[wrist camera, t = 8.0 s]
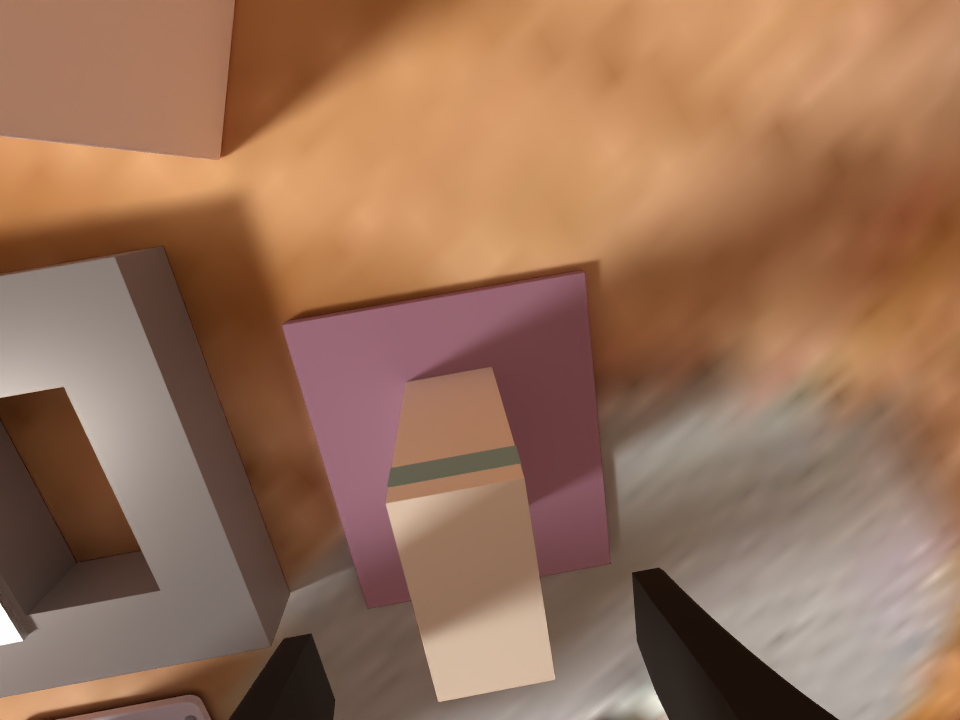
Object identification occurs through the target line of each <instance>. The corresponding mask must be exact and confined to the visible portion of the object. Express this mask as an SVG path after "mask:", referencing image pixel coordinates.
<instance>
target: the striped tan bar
mask: <svg viewBox="0 0 960 720" xmlns="http://www.w3.org/2000/svg"><path fill="white" fill-rule="evenodd" d="M387 489H388V492H387V498H386V507H387V511H388V515H389V519H390V522H391V526H392V530H393V534H394V537H395V541H396V545H397V549H398V552H399V556H400V560H401V564H402V567H403V571H404V575H405V579H406V582H407V586H408V590H409V594H410V598H411V601H412V605H413V609H414V613H415V616H416V620H417V624H418V628H419V631H420V635H421V639H422V643H423V646H424V650H425V654H426V658H427V661H428V665H429V669H430V673H431V676H432V680H433V684H434V688H435V691H436V695H437V699H438V702H442V701H447V700H452V699H458V698H463V697H468V696H473V695H478V694H484V693H489V692H494V691H499V690H504V689H510V688H515V687H520V686H525V685H530V684H536V683H541V682H546V681H551V680H555V675H554V668H553V662H552V655H551V649H550V642H549V635H548V629H547V622H546V616H545V609H544V603H543V596H542V590H541V583H540V576H539V570H538V563H537V557H536V550H535V544H534V537H533V531H532V524H531V517H530V511H529V504H528V498H527V491H526V485H525V478H524V475H523V471H522V466H521V461H520V458H519V454H518V451H517V447H516V445H515V444H514V441H513V437H512V434H511V430H510V427H509V424H508V420H507V417H506V413H505V410H504V406H503V403H502V400H501V396H500V393H499V389H498V386H497V383H496V379H495V376H494V372H493V369H492V367H487V368H482V369H476V370H471V371H465V372H460V373H454V374H448V375H443V376H437V377H432V378H426V379H420V380H415V381H409V382H406V383H405V389H404V395H403V401H402V407H401V413H400V419H399V425H398V431H397V437H396V443H395V449H394V455H393V461H392V467H391V468H390V473H389V479H388V485H387Z"/></svg>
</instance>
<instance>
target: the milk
mask: <svg viewBox="0 0 960 720" xmlns="http://www.w3.org/2000/svg"><path fill="white" fill-rule="evenodd" d="M234 7H235V0H0V136H2V137H11V138H20V139H29V140H38V141H47V142H56V143H65V144H74V145H83V146H92V147H101V148H110V149H119V150H128V151H137V152H146V153H155V154H164V155H174V156H183V157H192V158H201V159H210V160H219V159H220V154H221V144H222V134H223V123H224V112H225V102H226V91H227V81H228V70H229V60H230V49H231V39H232V28H233V18H234Z"/></svg>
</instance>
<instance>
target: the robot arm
mask: <svg viewBox="0 0 960 720" xmlns="http://www.w3.org/2000/svg"><path fill="white" fill-rule="evenodd" d="M632 579H633V592H634V606H635V620H636V634H637V643H638V645H639V648H640V651H641V654H642V656H643V659H644V662H645V665H646V667H647V670H648V673H649V675H650V678H651V681H652V683H653V686H654V689H655V691H656V693H657V695H658V697H659V700H660V702H661V704H662V706H663V708H664V710H665V712H666V714H667V716H668V718H669V720H839V719H837V718H836V717H834V716H833V715H832V714H830V713H829V712H827V711H826V710H825V709H823V708H822V707H820V706H819V705H818V704H816V703H815V702H814V701H812V700H811V699H810V698H808V697H807V696H806V695H804V694H803V693H802V692H800V691H799V690H798V689H796V688H795V687H794V686H792V685H791V684H790V683H789V682H787V681H786V680H785V679H783V678H782V677H781V676H780V675H778V674H777V673H776V672H775V671H774V670H772V669H771V668H770V667H769V666H767V665H766V664H765V663H764V662H762V661H761V660H760V659H759V658H758V657H756V656H755V655H754V654H753V653H752V652H750V651H749V650H748V649H747V648H746V647H745V646H743V645H742V644H741V643H740V642H739V641H738V640H737V639H735V638H734V637H733V636H732V635H731V634H730V633H729V632H727V631H726V630H725V629H724V628H723V627H722V626H721V625H719V624H718V623H717V622H716V621H715V620H714V619H713V618H712V617H711V616H710V615H708V614H707V613H706V612H705V611H704V610H703V609H702V608H701V607H700V606H699V605H698V604H697V603H696V602H695V601H694V600H693V599H692V598H691V597H689V596H688V595H687V594H686V593H685V592H684V591H683V590H682V589H681V588H680V587H679V586H678V585H677V584H676V583H675V582H674V581H673V580H672V579H671V578H670V577H669V576H668V575H667V574H666V573H665V572H664V571H663V570H662V569H660V568H654V569H649V570H643V571H638V572H633V573H632ZM334 706H335V698H334V695H333V693H332V690H331V687H330V684H329V681H328V679H327V676H326V673H325V670H324V668H323V665H322V662H321V659H320V656H319V654H318V651H317V648H316V645H315V642H314V640H313V637H312V634H306V635H301V636H296V637H291V638H285V639H283V641H282V642H281V643H280V645H279V646H278V648H277V649H276V651H275V652H274V654H273V655H272V656H271V658H270V659H269V661H268V662H267V664H266V665H265V667H264V668H263V670H262V671H261V673H260V674H259V676H258V677H257V679H256V680H255V682H254V683H253V685H252V686H251V688H250V689H249V691H248V692H247V694H246V695H245V697H244V698H243V700H242V701H241V703H240V704H239V705H238V707H237V708H236V710H235V711H234V713H233V714H232V716H231V717H230V718H229V720H333V716H334ZM57 720H211V718H210V716H209V714H208V712H207V710H206V708H205V706H204V704H203V702H202V700H201V699H200V698H199V697H197V696H195V695H184V696H179V697H174V698H168V699H163V700H158V701H153V702H147V703H142V704H137V705H131V706H126V707H121V708H115V709H110V710H105V711H99V712H94V713H89V714H84V715H78V716H73V717H68V718H62V719H57Z"/></svg>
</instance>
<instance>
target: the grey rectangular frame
mask: <svg viewBox="0 0 960 720" xmlns="http://www.w3.org/2000/svg"><path fill="white" fill-rule="evenodd" d="M60 387H64V388H65V391H66V393H67V395H68V397H69V399H70V401H71V403H72V405H73V407H74V410H75V412H76V414H77V416H78V418H79V420H80V422H81V424H82V426H83V428H84V431H85V433H86V435H87V437H88V439H89V441H90V443H91V445H92V447H93V449H94V452H95V454H96V456H97V458H98V460H99V462H100V464H101V466H102V468H103V471H104V473H105V475H106V477H107V479H108V481H109V483H110V485H111V487H112V489H113V492H114V494H115V496H116V498H117V500H118V502H119V504H120V506H121V508H122V510H123V513H124V515H125V517H126V519H127V521H128V523H129V525H130V527H131V529H132V532H133V534H134V536H135V538H136V540H137V542H138V544H139V546H140V548H141V550H142V551H138V552H132V553H127V554H121V555H116V556H110V557H105V558H99V559H94V560H88V561H83V562H78V563H76V561H75V559H74V557H73V555H72V553H71V551H70V550H69V548H68V546H67V544H66V542H65V540H64V538H63V536H62V535H61V533H60V531H59V529H58V527H57V525H56V523H55V521H54V520H53V518H52V516H51V514H50V512H49V510H48V508H47V506H46V505H45V503H44V501H43V499H42V497H41V495H40V493H39V492H38V490H37V488H36V486H35V484H34V482H33V480H32V478H31V477H30V475H29V473H28V471H27V469H26V467H25V465H24V463H23V462H22V460H21V458H20V456H19V454H18V452H17V450H16V448H15V447H14V445H13V443H12V441H11V439H10V437H9V435H8V434H7V432H6V430H5V428H4V426H3V424H2V422H1V420H0V698H2V697H7V696H12V695H18V694H23V693H28V692H34V691H39V690H44V689H50V688H55V687H60V686H66V685H71V684H77V683H82V682H87V681H93V680H98V679H103V678H109V677H114V676H119V675H125V674H130V673H135V672H141V671H146V670H151V669H157V668H162V667H167V666H173V665H178V664H183V663H189V662H194V661H200V660H205V659H210V658H216V657H221V656H226V655H232V654H237V653H242V652H248V651H253V650H258V649H264V648H269V647H271V645H272V643H273V640H274V637H275V634H276V632H277V629H278V626H279V623H280V621H281V618H282V615H283V612H284V610H285V607H286V604H287V601H288V598H289V596H290V592H289V589H288V587H287V584H286V581H285V578H284V576H283V573H282V570H281V567H280V565H279V562H278V559H277V557H276V554H275V551H274V548H273V546H272V543H271V540H270V537H269V535H268V532H267V529H266V526H265V524H264V521H263V518H262V515H261V513H260V510H259V507H258V505H257V502H256V499H255V496H254V494H253V491H252V488H251V485H250V483H249V480H248V477H247V474H246V472H245V469H244V466H243V464H242V461H241V458H240V455H239V453H238V450H237V447H236V444H235V442H234V439H233V436H232V433H231V431H230V428H229V425H228V423H227V420H226V417H225V414H224V412H223V409H222V406H221V403H220V401H219V398H218V395H217V392H216V390H215V387H214V384H213V382H212V379H211V376H210V373H209V371H208V368H207V365H206V362H205V360H204V357H203V354H202V351H201V349H200V346H199V343H198V340H197V338H196V335H195V332H194V330H193V327H192V324H191V321H190V319H189V316H188V313H187V310H186V308H185V305H184V302H183V299H182V297H181V294H180V291H179V289H178V286H177V283H176V280H175V278H174V275H173V272H172V269H171V267H170V264H169V261H168V258H167V256H166V253H165V250H164V248H163V246H160V247H154V248H148V249H142V250H137V251H131V252H125V253H119V254H113V255H107V256H101V257H95V258H89V259H84V260H78V261H72V262H66V263H60V264H54V265H48V266H42V267H36V268H31V269H25V270H19V271H13V272H7V273H1V274H0V398H2V397H8V396H14V395H19V394H25V393H31V392H37V391H42V390H48V389H54V388H60Z"/></svg>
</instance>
